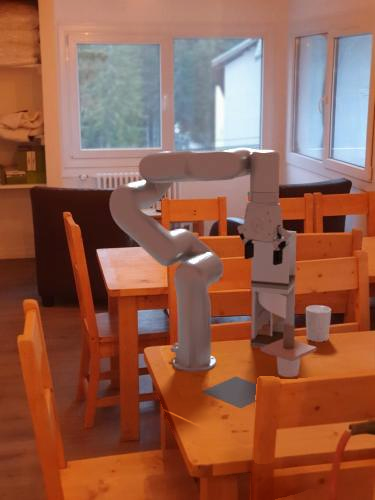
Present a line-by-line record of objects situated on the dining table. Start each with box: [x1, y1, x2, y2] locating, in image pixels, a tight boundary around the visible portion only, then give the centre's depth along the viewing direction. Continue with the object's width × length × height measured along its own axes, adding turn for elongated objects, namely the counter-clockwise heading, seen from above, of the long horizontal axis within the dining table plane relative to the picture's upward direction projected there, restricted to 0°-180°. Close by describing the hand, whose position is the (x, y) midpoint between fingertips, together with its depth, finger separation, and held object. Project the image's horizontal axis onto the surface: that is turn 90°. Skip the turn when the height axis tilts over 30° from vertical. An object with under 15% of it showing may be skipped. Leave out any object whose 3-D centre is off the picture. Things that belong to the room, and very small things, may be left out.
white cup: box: [305, 304, 332, 343], centre depth 224 cm, size 8×8×10 cm
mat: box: [200, 376, 257, 409], centre depth 186 cm, size 14×14×1 cm
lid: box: [260, 323, 318, 361], centre depth 195 cm, size 11×11×8 cm
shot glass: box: [276, 356, 301, 378], centre depth 196 cm, size 7×7×7 cm
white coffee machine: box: [250, 230, 297, 348], centre depth 218 cm, size 11×11×35 cm
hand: (263, 261), depth 188 cm, fingers open, 9 cm apart
